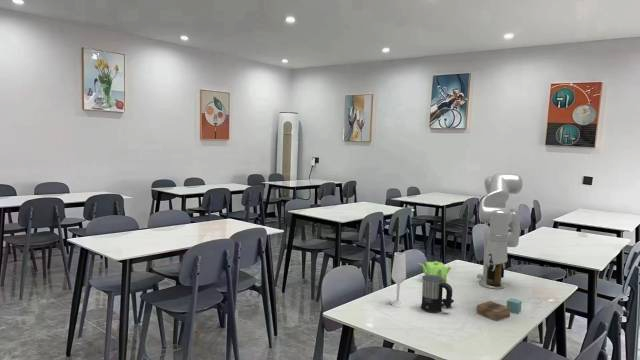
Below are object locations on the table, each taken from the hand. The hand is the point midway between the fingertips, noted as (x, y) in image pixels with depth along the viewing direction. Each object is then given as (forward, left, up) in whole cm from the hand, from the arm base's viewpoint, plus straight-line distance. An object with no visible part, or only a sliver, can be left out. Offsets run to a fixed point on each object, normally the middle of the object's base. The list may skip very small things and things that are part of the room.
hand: (495, 277), depth 196 cm
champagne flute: (-32, -28, -17) cm, 45 cm away
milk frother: (-19, -15, -17) cm, 30 cm away
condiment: (0, 0, -3) cm, 3 cm away
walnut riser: (0, 0, -17) cm, 17 cm away
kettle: (-46, +15, -17) cm, 51 cm away
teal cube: (+2, +13, -17) cm, 22 cm away
